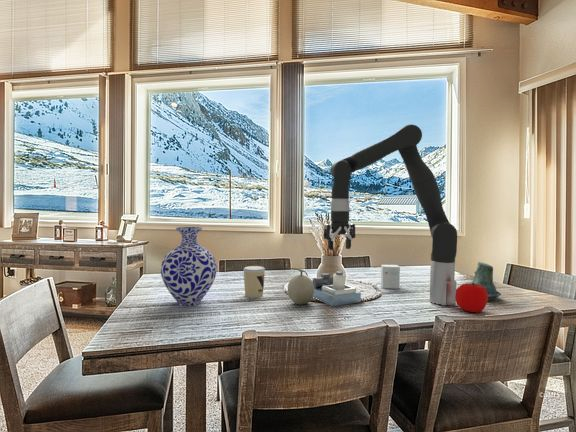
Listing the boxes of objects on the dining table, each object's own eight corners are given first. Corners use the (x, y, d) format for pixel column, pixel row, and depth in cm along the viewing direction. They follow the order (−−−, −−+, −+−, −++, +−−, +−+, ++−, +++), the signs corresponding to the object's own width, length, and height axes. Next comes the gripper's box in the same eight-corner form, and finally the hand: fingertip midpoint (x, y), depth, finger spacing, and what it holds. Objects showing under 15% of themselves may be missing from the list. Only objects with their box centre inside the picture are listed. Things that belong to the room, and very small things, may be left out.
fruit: (318, 302, 155) (319, 265, 154) (305, 309, 145) (306, 270, 144) (296, 298, 160) (297, 263, 159) (282, 304, 150) (283, 267, 149)
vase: (159, 312, 138) (159, 230, 137) (162, 297, 159) (162, 226, 157) (218, 308, 144) (219, 229, 142) (214, 294, 164) (214, 225, 163)
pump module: (347, 292, 156) (347, 272, 155) (337, 293, 153) (337, 273, 153) (340, 289, 160) (340, 270, 160) (330, 290, 158) (331, 271, 157)
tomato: (469, 316, 138) (470, 286, 137) (447, 307, 149) (448, 279, 148) (495, 314, 141) (497, 284, 141) (472, 305, 152) (473, 278, 152)
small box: (397, 286, 185) (398, 264, 184) (399, 288, 179) (400, 266, 179) (380, 285, 186) (381, 264, 185) (382, 288, 180) (382, 266, 180)
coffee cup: (261, 298, 159) (261, 270, 158) (240, 297, 161) (240, 269, 160) (267, 293, 168) (267, 266, 167) (247, 291, 170) (247, 265, 169)
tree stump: (453, 290, 181) (464, 254, 178) (498, 307, 169) (511, 269, 167) (443, 295, 166) (455, 257, 163) (492, 315, 154) (506, 274, 152)
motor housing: (360, 302, 155) (361, 279, 155) (332, 306, 149) (332, 282, 148) (335, 292, 171) (335, 271, 171) (308, 295, 165) (308, 274, 164)
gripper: (330, 210, 148) (330, 251, 149) (359, 210, 155) (359, 249, 156) (320, 209, 155) (320, 249, 156) (348, 209, 162) (348, 247, 162)
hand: (339, 249), depth 156 cm, fingers open, 8 cm apart
